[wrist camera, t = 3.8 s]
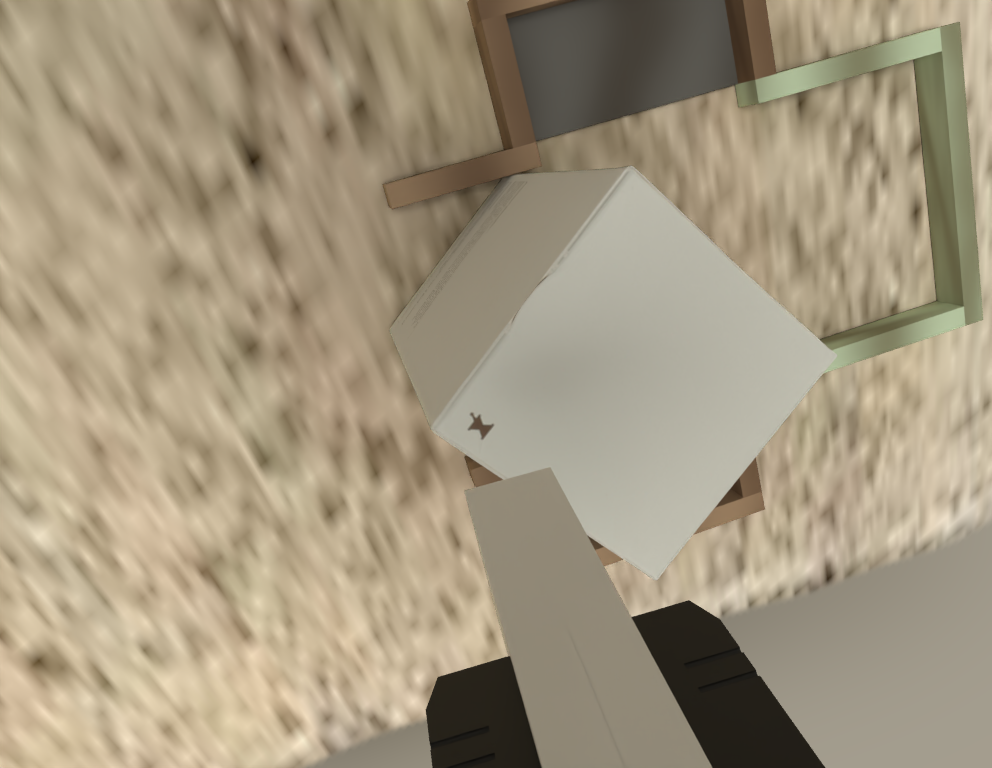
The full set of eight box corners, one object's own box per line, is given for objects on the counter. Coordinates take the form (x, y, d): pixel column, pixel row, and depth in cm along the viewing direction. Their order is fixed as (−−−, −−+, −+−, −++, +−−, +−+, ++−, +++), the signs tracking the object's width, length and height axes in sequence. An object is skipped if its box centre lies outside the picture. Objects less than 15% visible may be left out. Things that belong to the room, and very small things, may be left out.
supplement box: (534, 439, 38) (655, 597, 23) (384, 330, 35) (417, 434, 21) (653, 289, 37) (851, 358, 23) (508, 165, 34) (631, 157, 20)
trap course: (502, 581, 39) (509, 599, 38) (337, 36, 32) (337, 28, 30) (965, 418, 42) (991, 428, 41) (917, -114, 35) (948, -129, 33)
